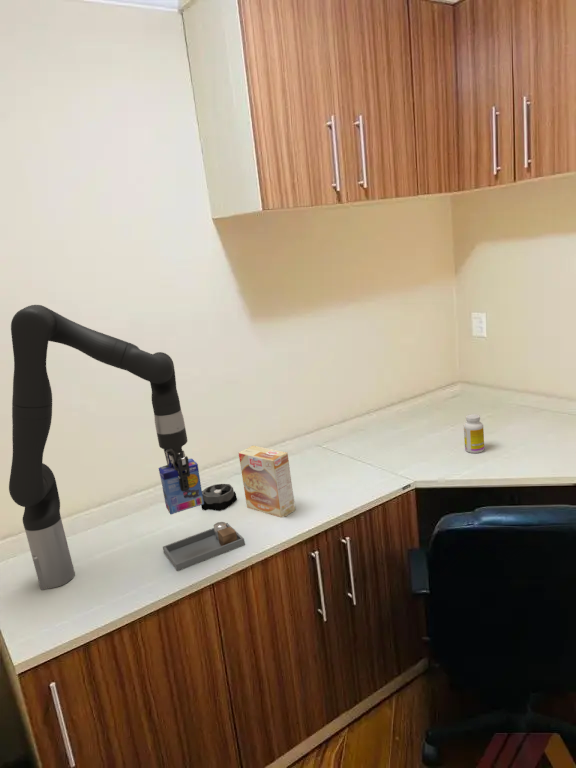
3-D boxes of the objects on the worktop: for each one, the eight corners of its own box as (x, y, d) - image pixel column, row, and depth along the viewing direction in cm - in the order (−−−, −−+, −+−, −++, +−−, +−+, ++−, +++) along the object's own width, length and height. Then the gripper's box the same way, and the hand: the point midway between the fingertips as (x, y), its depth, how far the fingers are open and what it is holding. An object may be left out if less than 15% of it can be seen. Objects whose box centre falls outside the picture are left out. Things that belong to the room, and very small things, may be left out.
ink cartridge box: (170, 515, 156) (160, 465, 153) (165, 508, 161) (155, 459, 157) (205, 504, 160) (196, 454, 157) (199, 497, 165) (190, 449, 162)
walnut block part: (225, 549, 164) (222, 536, 163) (219, 543, 167) (217, 531, 166) (238, 544, 166) (235, 531, 164) (232, 538, 169) (230, 526, 168)
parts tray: (177, 573, 156) (176, 564, 156) (164, 554, 166) (162, 546, 166) (245, 546, 165) (244, 538, 164) (228, 530, 175) (227, 522, 175)
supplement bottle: (488, 449, 209) (487, 415, 205) (476, 455, 205) (474, 420, 202) (473, 445, 214) (471, 411, 211) (461, 450, 211) (459, 417, 207)
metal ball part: (218, 541, 168) (216, 529, 167) (213, 537, 171) (211, 524, 170) (230, 537, 170) (227, 525, 169) (225, 532, 173) (223, 520, 172)
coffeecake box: (246, 509, 187) (237, 452, 182) (261, 500, 192) (253, 444, 188) (281, 520, 178) (272, 460, 173) (296, 510, 183) (288, 451, 178)
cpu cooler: (238, 484, 193) (220, 498, 185) (241, 500, 195) (223, 514, 186) (213, 481, 198) (194, 494, 190) (216, 496, 200) (197, 510, 191)
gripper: (193, 430, 150) (203, 490, 155) (175, 418, 163) (185, 474, 167) (165, 438, 147) (176, 499, 151) (149, 425, 159) (160, 482, 164)
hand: (181, 486), depth 159 cm, fingers closed on ink cartridge box, 5 cm apart
